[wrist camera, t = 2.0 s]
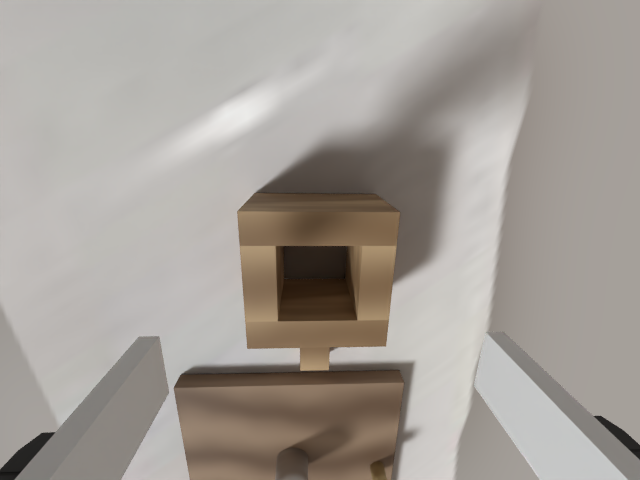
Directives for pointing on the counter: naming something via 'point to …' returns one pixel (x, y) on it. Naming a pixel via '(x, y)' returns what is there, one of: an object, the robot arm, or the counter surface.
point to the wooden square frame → (317, 294)
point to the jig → (290, 425)
